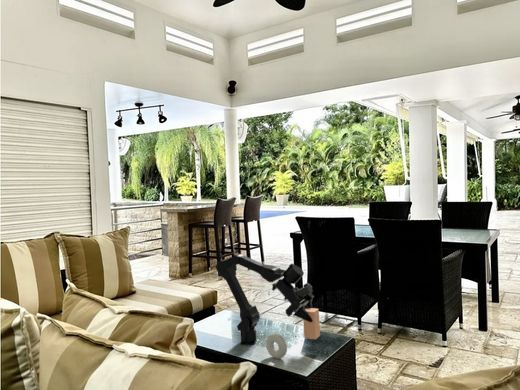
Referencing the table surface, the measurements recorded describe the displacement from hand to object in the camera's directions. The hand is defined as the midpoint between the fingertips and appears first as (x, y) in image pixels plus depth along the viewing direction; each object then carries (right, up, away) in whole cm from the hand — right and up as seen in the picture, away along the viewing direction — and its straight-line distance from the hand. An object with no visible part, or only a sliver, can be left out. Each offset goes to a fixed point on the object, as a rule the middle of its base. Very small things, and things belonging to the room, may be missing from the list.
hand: (314, 319), depth 165 cm
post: (-1, -7, +1) cm, 7 cm away
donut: (-16, -14, -5) cm, 22 cm away
